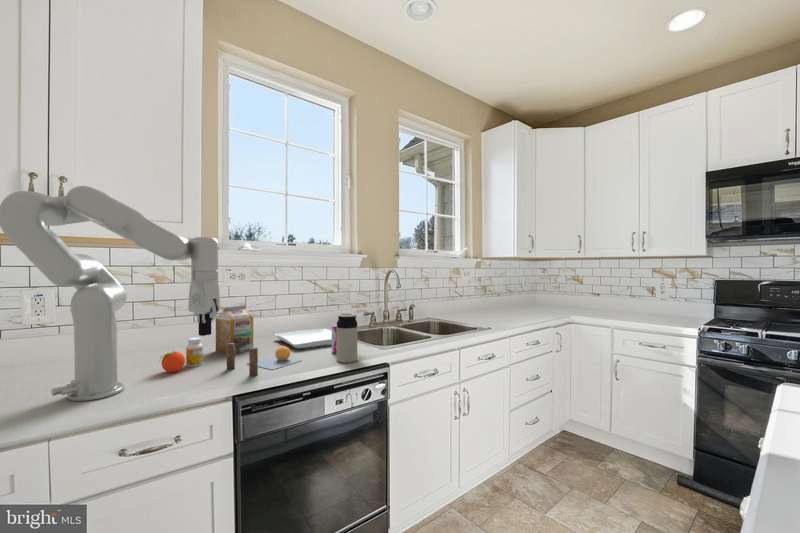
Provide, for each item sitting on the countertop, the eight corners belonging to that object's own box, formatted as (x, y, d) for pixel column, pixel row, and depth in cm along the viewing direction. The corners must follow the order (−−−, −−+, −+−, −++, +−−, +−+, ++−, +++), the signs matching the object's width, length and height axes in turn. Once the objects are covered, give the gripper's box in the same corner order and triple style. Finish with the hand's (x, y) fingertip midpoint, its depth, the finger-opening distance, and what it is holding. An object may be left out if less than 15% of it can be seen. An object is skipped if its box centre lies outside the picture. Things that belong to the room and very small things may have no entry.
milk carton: (230, 355, 149) (230, 308, 148) (215, 351, 155) (215, 306, 154) (253, 349, 158) (253, 305, 157) (238, 346, 163) (238, 304, 163)
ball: (286, 364, 139) (279, 355, 136) (277, 362, 142) (269, 353, 139) (295, 353, 143) (288, 344, 140) (285, 351, 146) (279, 342, 143)
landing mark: (272, 370, 129) (272, 369, 129) (246, 364, 136) (246, 363, 136) (301, 360, 141) (301, 360, 141) (277, 355, 148) (277, 355, 148)
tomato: (163, 377, 121) (163, 355, 120) (154, 373, 125) (154, 352, 124) (188, 371, 127) (188, 350, 127) (179, 367, 131) (179, 347, 131)
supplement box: (331, 353, 152) (331, 326, 152) (337, 350, 158) (338, 323, 158) (343, 354, 150) (343, 327, 150) (350, 351, 156) (350, 324, 156)
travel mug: (339, 364, 137) (339, 316, 136) (334, 358, 144) (334, 313, 144) (359, 362, 140) (359, 315, 139) (354, 357, 147) (354, 312, 147)
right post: (252, 376, 121) (252, 349, 121) (247, 375, 123) (247, 348, 123) (259, 374, 124) (259, 348, 123) (254, 373, 125) (254, 347, 125)
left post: (229, 370, 128) (229, 344, 128) (225, 369, 129) (225, 344, 129) (236, 368, 130) (236, 343, 130) (231, 367, 132) (231, 342, 131)
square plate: (294, 352, 155) (294, 343, 155) (273, 341, 177) (273, 333, 177) (350, 344, 171) (350, 336, 171) (325, 334, 193) (325, 327, 193)
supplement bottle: (184, 364, 135) (184, 338, 134) (200, 362, 138) (200, 336, 138) (188, 368, 131) (188, 340, 131) (204, 365, 135) (204, 338, 134)
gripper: (179, 276, 116) (179, 334, 116) (207, 277, 108) (207, 340, 108) (203, 275, 122) (203, 330, 122) (230, 277, 114) (230, 335, 114)
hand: (205, 334), depth 115 cm, fingers closed
